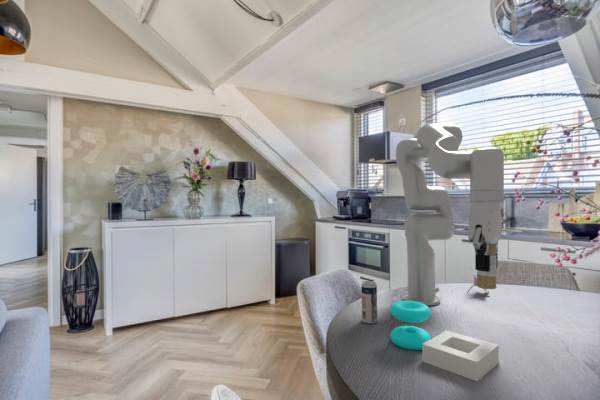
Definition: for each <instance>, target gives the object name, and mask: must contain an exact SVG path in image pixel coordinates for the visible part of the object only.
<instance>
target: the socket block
mask: <svg viewBox="0 0 600 400" xmlns="http://www.w3.org/2000/svg"><path fill="white" fill-rule="evenodd" d="M421 351H422V355H421V358H422V362H423V363H425V364H428V365H430V366H434V367H436V368H439V369H442V370H444V371H447V372H450V373H452V374H456V375H457V376H460V375H461V376H460V377H463V376H464V378H466V379H469V380H472V381H474V382H479V381H480V380H482V378H484V377H485V376H487V374H488V373H490V371H492V369H493V368H495V367H496V366H497V365H498V364H500V358H499V357H500V356H499V352H500V351H499V344H496V343H492V342H488V341H485V340H482V339H478V338H475V337H471V336H467V335H465V334H464V335H463V334H460V333H457V332H453V331H450V330H445V331H443V332H441V333H440V334H438V335H436V336H434V337H432V338H431V339H430V340H429V341H427V342H425V343H423V344H422V349H421ZM495 365H496V366H495ZM484 375H485V376H484Z"/></svg>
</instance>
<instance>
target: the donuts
mask: <svg viewBox="0 0 600 400" xmlns="http://www.w3.org/2000/svg"><path fill="white" fill-rule="evenodd" d="M389 311H390V314H391V315H392V316H393V318H395V319H397V320H398V321H401V322H405V323H423V322H425V321H427V320H428V319H429V318H430V316H431V314H432V312H431V309H430V307H429V306H427V305H425V304H423V303H420V302H415V301H404V300H398V301H395V302H393V303H392V304H391V305H390V307H389ZM430 339H432V338H431V336H430V334H429V332H427V331H426V330H425V329H423V328H421V327H417V326H414V325H399V326H397V327H395V328H394V329H392V330H391V332H390V340H391V341H392V343H393V344H394V345H395V346H398V347H400V348H402V349H405V350H410V351H419V350H421V351H422V344H423V343H425V342H427V341H429V340H430Z"/></svg>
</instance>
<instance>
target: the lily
mask: <svg viewBox="0 0 600 400" xmlns="http://www.w3.org/2000/svg"><path fill="white" fill-rule="evenodd" d="M469 268H470V269H472V268H471V266H470V267H469ZM472 275H473V285H472V286H471V287H469V289H468V290H467V294H468V293H469V292H470V290H471V289H472V288H473V287H478V286H477V273H476V272H475V271H474V270H472ZM483 290H484V291H485V293H486V294H487V295H488V296H490V295H489V293H490V292H489V289H483Z"/></svg>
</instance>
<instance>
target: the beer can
mask: <svg viewBox="0 0 600 400" xmlns="http://www.w3.org/2000/svg"><path fill="white" fill-rule="evenodd" d="M360 286H361V287H360V288H361V321H362V323H364V324H367V325H368V324H369V325H374V324H376V323H377V322H378V285H377V283H376V281H371V280H369V281H368V280H365V281H362V284H361V285H360Z"/></svg>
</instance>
